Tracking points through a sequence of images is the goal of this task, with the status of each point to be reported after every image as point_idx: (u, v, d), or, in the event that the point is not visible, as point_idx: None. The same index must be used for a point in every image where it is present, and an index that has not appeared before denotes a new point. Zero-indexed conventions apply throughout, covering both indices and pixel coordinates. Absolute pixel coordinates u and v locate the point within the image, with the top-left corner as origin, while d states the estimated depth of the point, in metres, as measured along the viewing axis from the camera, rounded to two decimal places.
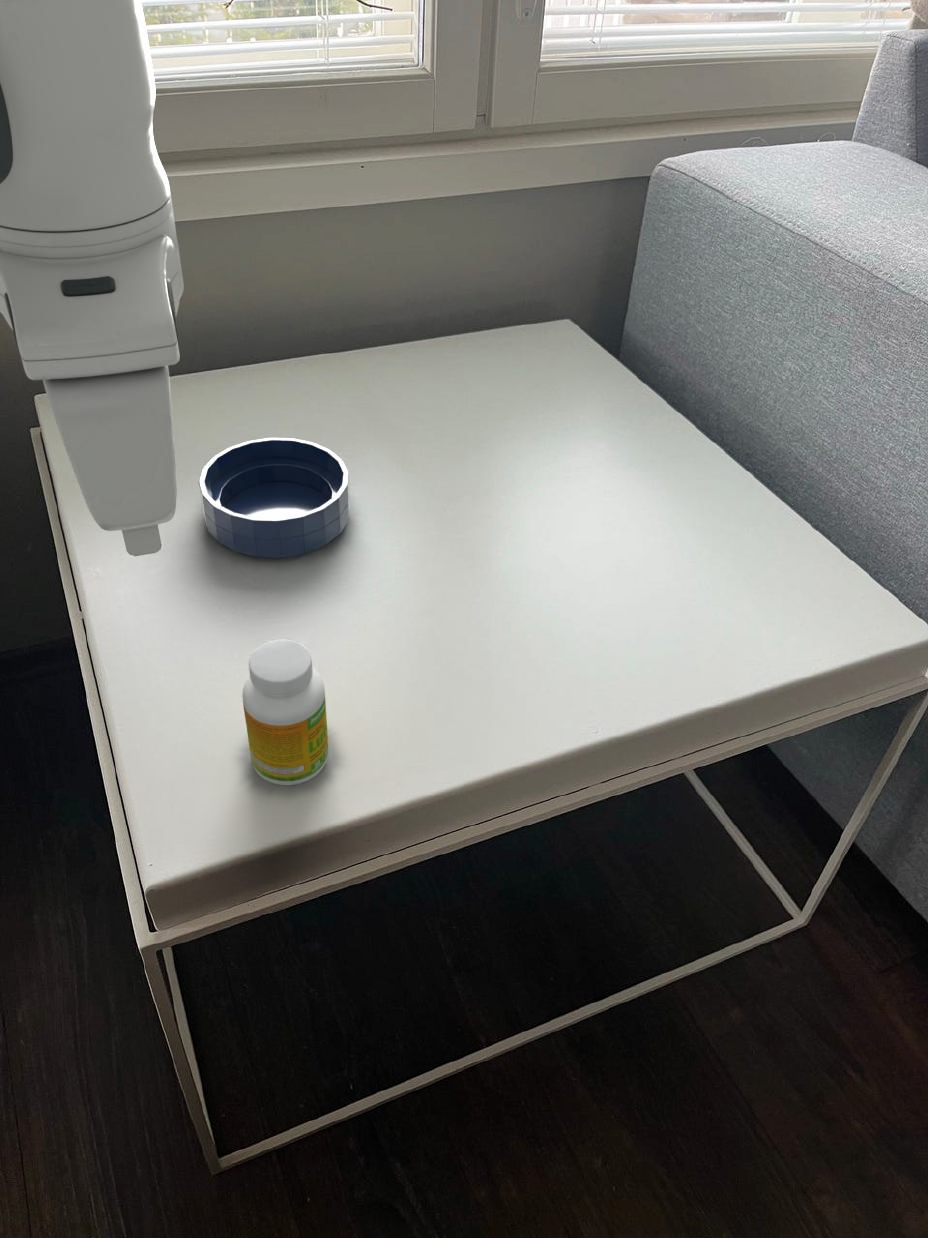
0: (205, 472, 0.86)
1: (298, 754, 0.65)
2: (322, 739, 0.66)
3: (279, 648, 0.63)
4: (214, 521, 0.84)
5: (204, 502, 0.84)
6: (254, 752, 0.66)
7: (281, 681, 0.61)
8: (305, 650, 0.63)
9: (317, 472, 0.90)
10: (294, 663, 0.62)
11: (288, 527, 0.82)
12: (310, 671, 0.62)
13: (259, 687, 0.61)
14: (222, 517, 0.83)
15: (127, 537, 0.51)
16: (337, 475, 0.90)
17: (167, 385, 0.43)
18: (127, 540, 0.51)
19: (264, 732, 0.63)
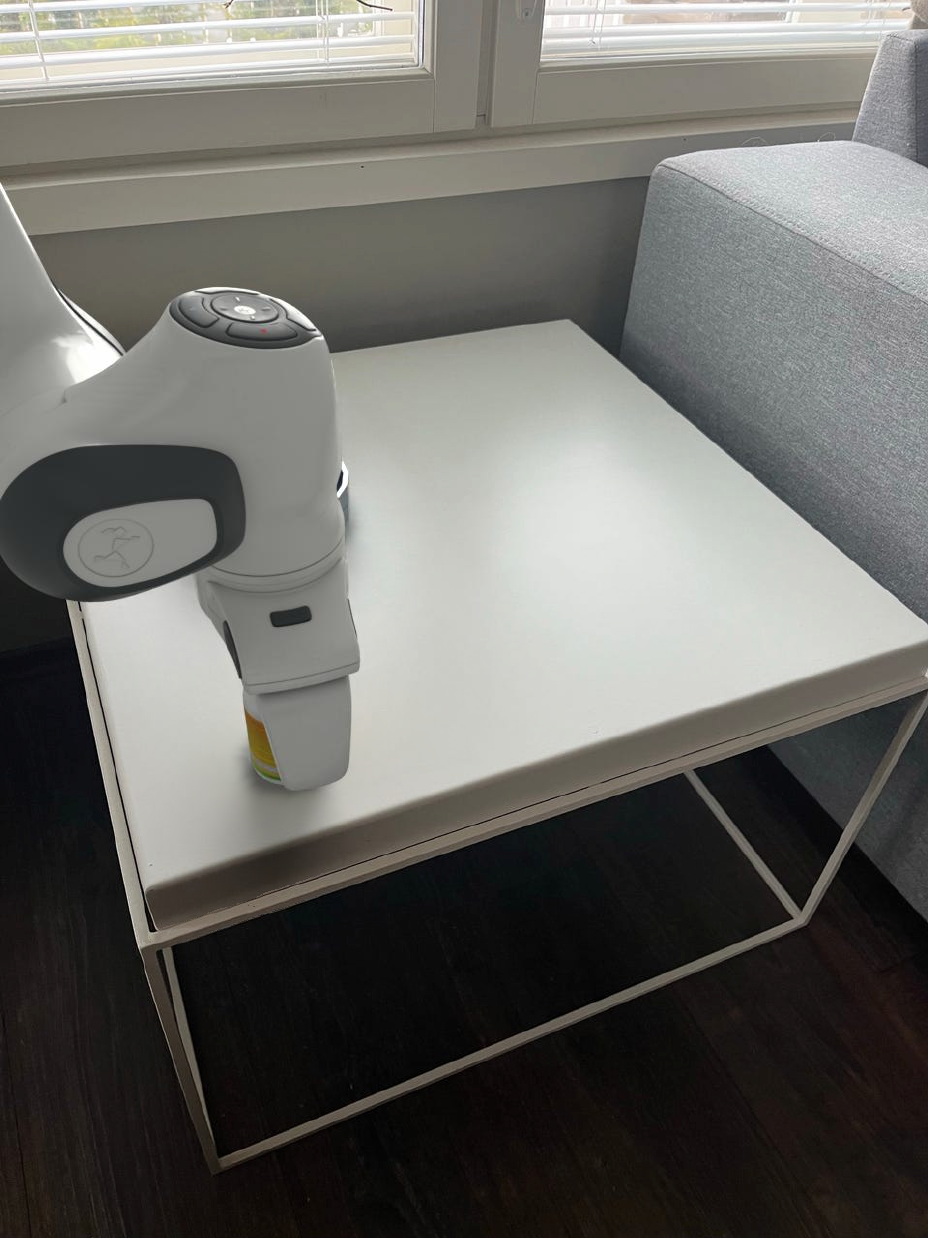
0: None
1: None
2: None
3: None
4: None
5: None
6: (254, 752, 0.66)
7: None
8: None
9: None
10: None
11: None
12: None
13: None
14: None
15: None
16: None
17: (349, 688, 0.53)
18: None
19: (264, 732, 0.63)
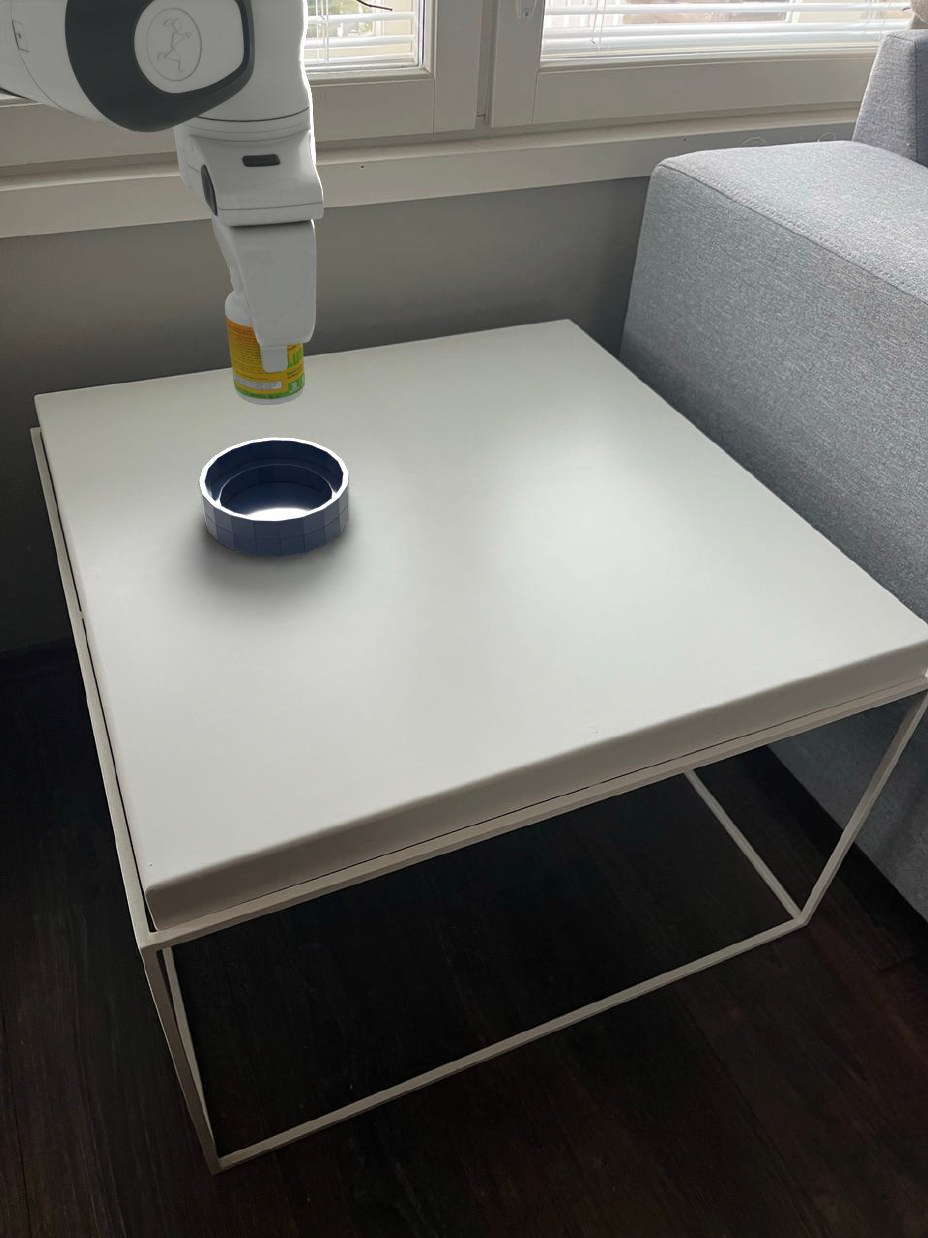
0: (205, 472, 0.86)
1: None
2: (298, 358, 0.72)
3: None
4: (214, 521, 0.84)
5: (204, 502, 0.84)
6: (236, 369, 0.72)
7: None
8: None
9: (317, 472, 0.90)
10: None
11: (288, 527, 0.82)
12: None
13: None
14: (222, 517, 0.83)
15: (264, 356, 0.69)
16: (337, 475, 0.90)
17: (314, 233, 0.60)
18: (264, 358, 0.69)
19: (244, 337, 0.69)
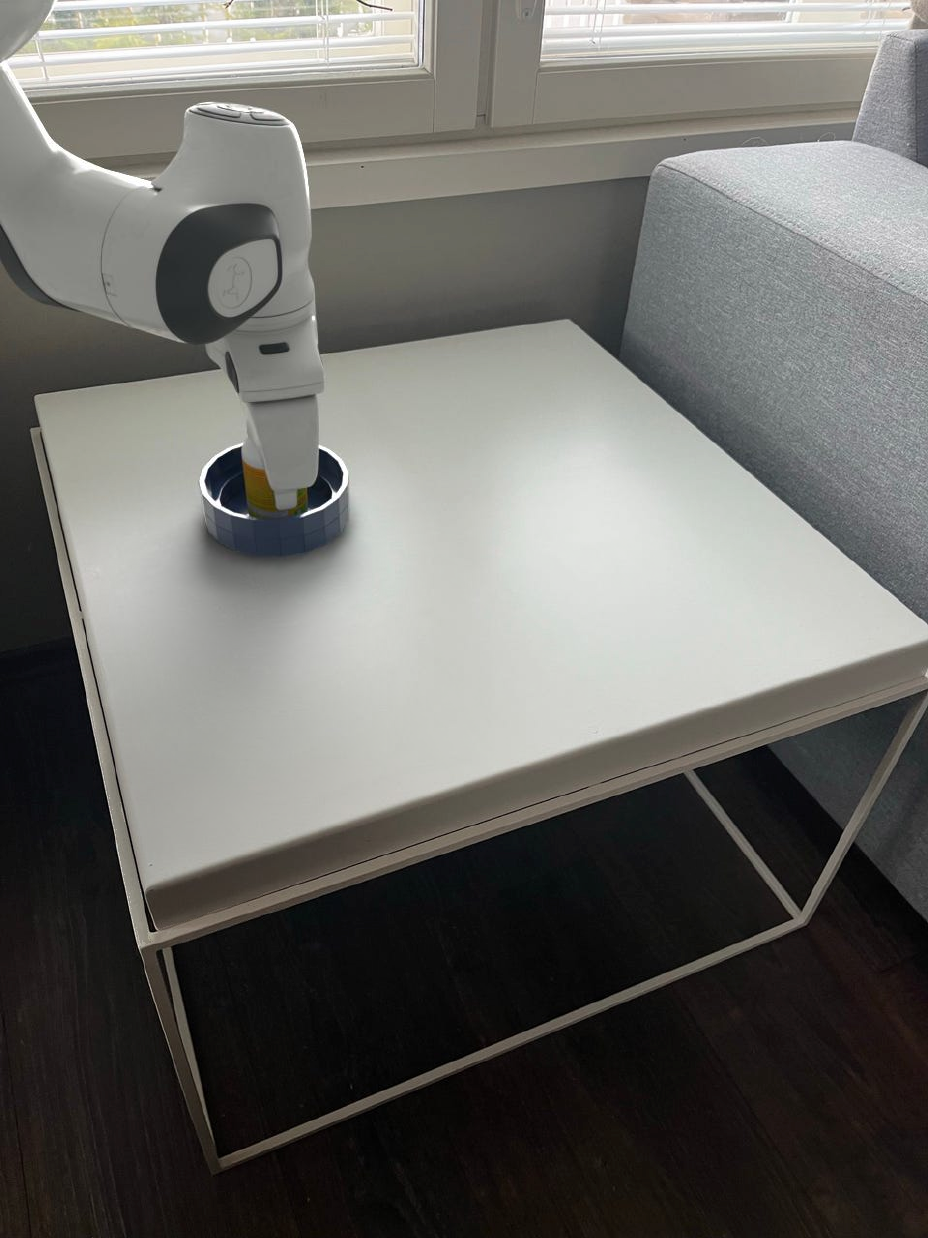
0: (205, 472, 0.86)
1: None
2: (302, 491, 0.86)
3: None
4: (214, 521, 0.84)
5: (204, 502, 0.84)
6: (250, 500, 0.86)
7: None
8: None
9: None
10: None
11: (288, 527, 0.82)
12: None
13: None
14: (222, 517, 0.83)
15: (277, 498, 0.81)
16: (337, 475, 0.90)
17: (317, 405, 0.73)
18: (277, 500, 0.81)
19: (257, 477, 0.83)
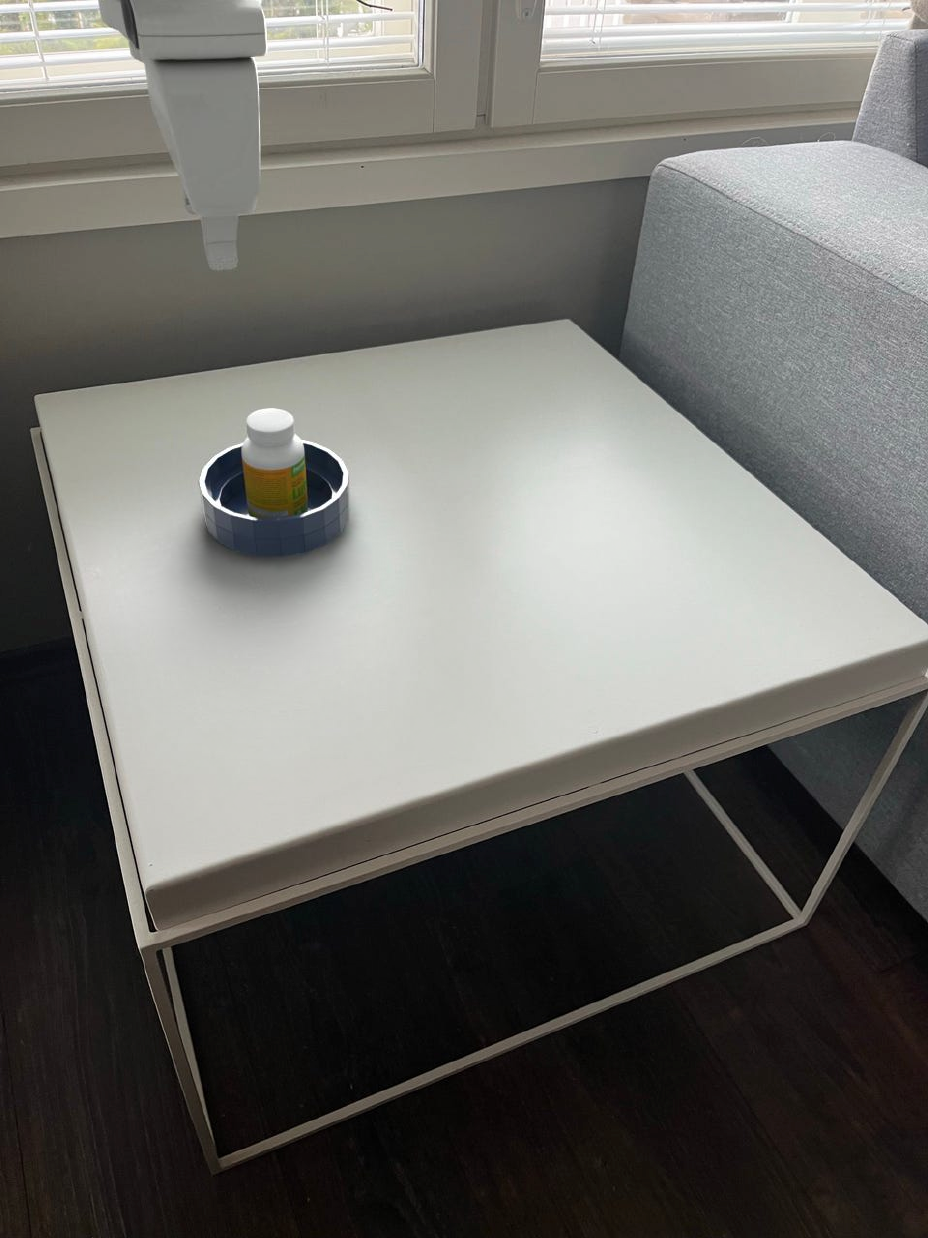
0: (205, 472, 0.86)
1: (284, 498, 0.85)
2: (302, 491, 0.86)
3: (269, 413, 0.83)
4: (214, 521, 0.84)
5: (204, 502, 0.84)
6: (250, 500, 0.86)
7: (270, 431, 0.81)
8: (289, 414, 0.83)
9: (317, 472, 0.90)
10: (280, 422, 0.82)
11: (288, 527, 0.82)
12: (292, 428, 0.82)
13: (254, 438, 0.82)
14: (222, 517, 0.83)
15: (209, 249, 0.58)
16: (337, 475, 0.90)
17: (256, 74, 0.50)
18: (209, 252, 0.58)
19: (257, 477, 0.83)
